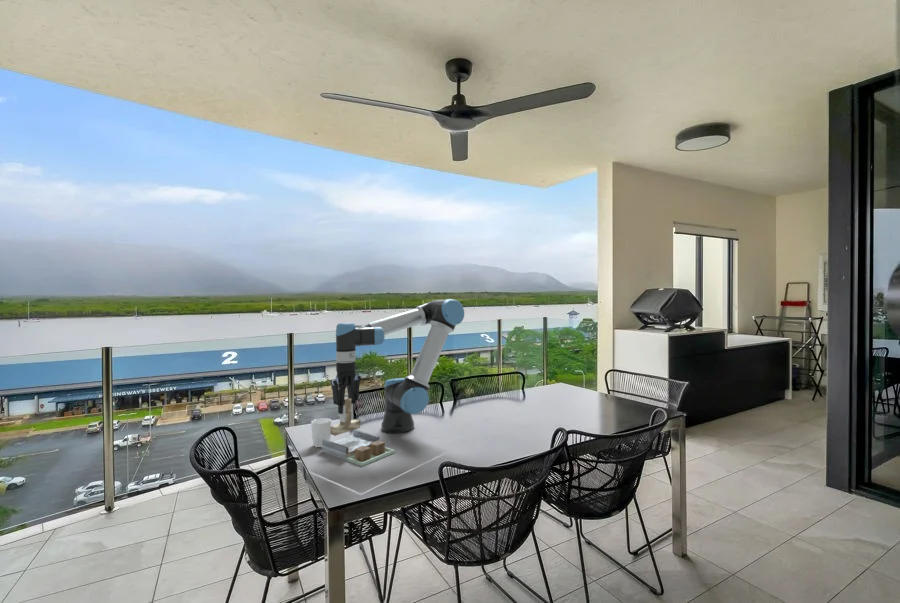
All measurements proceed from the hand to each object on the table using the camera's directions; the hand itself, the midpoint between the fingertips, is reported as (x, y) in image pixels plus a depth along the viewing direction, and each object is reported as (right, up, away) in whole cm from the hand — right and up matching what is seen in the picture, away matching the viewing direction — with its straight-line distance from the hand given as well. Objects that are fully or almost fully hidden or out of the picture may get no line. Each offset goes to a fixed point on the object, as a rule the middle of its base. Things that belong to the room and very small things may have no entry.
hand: (346, 420), depth 157 cm
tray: (+12, -11, -9) cm, 19 cm away
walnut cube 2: (+12, -9, -5) cm, 16 cm away
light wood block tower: (-1, -4, 0) cm, 4 cm away
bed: (+2, -12, -2) cm, 12 cm away
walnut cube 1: (+8, -9, -10) cm, 16 cm away
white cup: (-12, -12, +6) cm, 18 cm away
